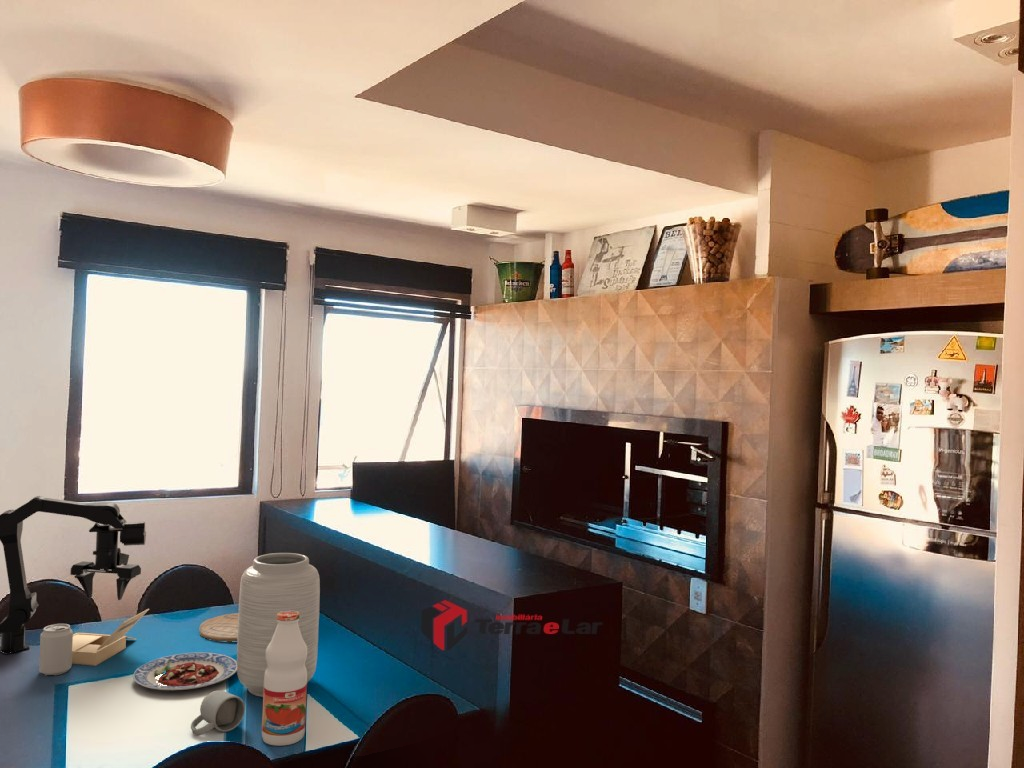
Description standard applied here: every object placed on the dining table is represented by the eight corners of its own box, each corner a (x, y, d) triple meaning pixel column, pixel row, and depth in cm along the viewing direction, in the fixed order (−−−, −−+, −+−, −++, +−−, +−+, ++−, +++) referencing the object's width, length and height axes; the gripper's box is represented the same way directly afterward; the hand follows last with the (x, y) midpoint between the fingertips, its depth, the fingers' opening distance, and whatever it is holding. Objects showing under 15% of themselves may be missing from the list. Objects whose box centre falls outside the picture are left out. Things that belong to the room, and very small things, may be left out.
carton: (43, 661, 212) (44, 649, 212) (91, 636, 233) (91, 625, 233) (95, 665, 211) (96, 652, 211) (138, 640, 231) (139, 628, 231)
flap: (96, 649, 212) (123, 621, 211) (123, 634, 224) (148, 608, 223) (97, 650, 211) (124, 622, 211) (124, 635, 224) (149, 609, 223)
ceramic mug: (226, 714, 184) (227, 682, 184) (245, 725, 179) (245, 692, 179) (183, 729, 176) (184, 696, 176) (201, 741, 171) (202, 707, 171)
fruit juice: (301, 725, 180) (306, 605, 180) (308, 743, 172) (313, 617, 171) (259, 731, 176) (264, 608, 176) (263, 749, 168) (268, 621, 168)
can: (56, 678, 201) (58, 632, 201) (31, 675, 203) (33, 629, 203) (78, 668, 209) (79, 623, 209) (54, 664, 210) (55, 621, 210)
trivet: (224, 615, 259) (224, 609, 259) (295, 621, 256) (295, 615, 256) (182, 639, 235) (183, 633, 235) (260, 647, 231) (260, 640, 231)
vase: (288, 708, 189) (293, 571, 189) (218, 695, 195) (223, 562, 195) (330, 678, 208) (335, 554, 208) (266, 667, 214) (270, 547, 214)
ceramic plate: (258, 671, 212) (258, 660, 212) (183, 705, 189) (184, 693, 189) (189, 654, 223) (189, 643, 223) (110, 684, 199) (110, 673, 199)
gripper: (152, 542, 235) (150, 593, 235) (93, 538, 237) (91, 589, 237) (131, 550, 224) (128, 603, 224) (70, 546, 226) (68, 599, 226)
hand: (104, 598), depth 228 cm, fingers open, 9 cm apart
